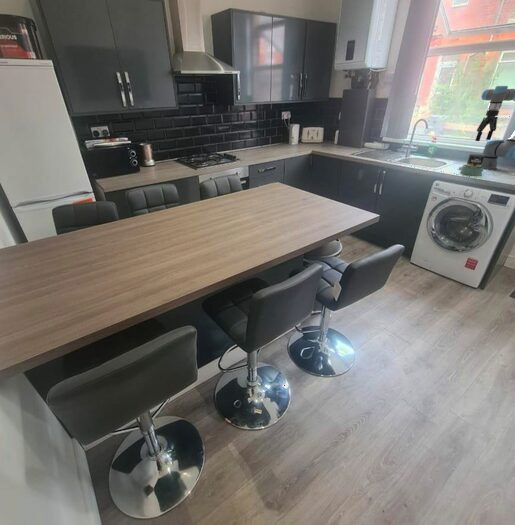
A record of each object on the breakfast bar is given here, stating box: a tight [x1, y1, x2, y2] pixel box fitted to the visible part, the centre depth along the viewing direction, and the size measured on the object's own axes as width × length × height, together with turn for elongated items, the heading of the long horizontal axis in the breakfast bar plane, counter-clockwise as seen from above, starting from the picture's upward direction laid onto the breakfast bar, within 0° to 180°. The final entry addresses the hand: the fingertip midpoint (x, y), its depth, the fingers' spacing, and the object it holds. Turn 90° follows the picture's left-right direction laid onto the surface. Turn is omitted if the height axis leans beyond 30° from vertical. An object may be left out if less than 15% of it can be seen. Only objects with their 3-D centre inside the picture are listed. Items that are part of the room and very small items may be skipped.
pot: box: [459, 164, 485, 177], centre depth 240 cm, size 15×15×6 cm
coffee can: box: [465, 153, 485, 168], centre depth 237 cm, size 10×10×14 cm
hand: (482, 140), depth 228 cm, fingers open, 13 cm apart
